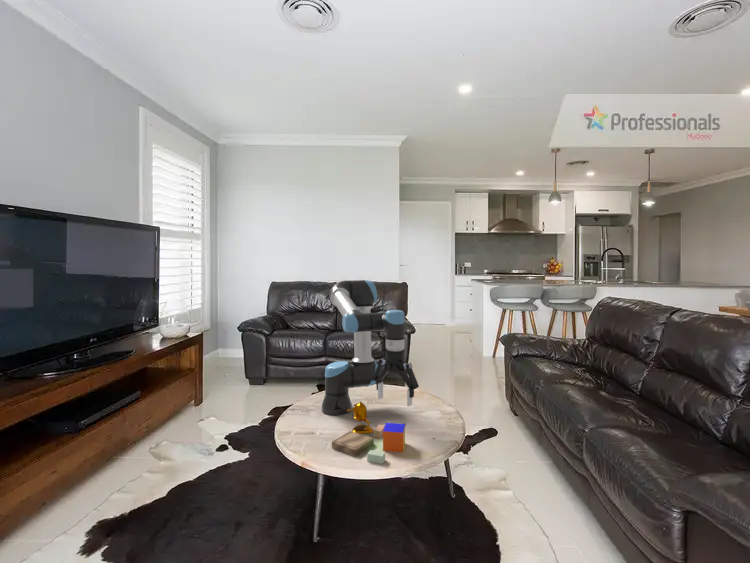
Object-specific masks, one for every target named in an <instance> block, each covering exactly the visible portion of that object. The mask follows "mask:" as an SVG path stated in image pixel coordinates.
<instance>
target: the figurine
mask: <svg viewBox="0 0 750 563" xmlns="http://www.w3.org/2000/svg"><path fill="white" fill-rule="evenodd" d="M353 406H354V407H353ZM353 406H352V409H350V410H351V411H352V413H353V416H352V418H353V419H354V420H355V421H357V422H364V423H366V424H364V423H363V424H362V423H358V424H357V425H355V426H354V427H353V428H352V430H351V431H352V432H355V433H358V434H362V435H367V434H373V433H374V430H375V429H374V428H372V427H371V426H370V424H371V423H370V421H369V419H367V418H368V411H367V410H368V409H367V406H366V405H365V404H364V403H363V402H362V401H359V402H358V403H357V402H356V403H354V405H353ZM350 410H347V412H348V411H350ZM351 411H350V412H351Z"/></svg>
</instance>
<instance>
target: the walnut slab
mask: <svg viewBox="0 0 750 563" xmlns="http://www.w3.org/2000/svg"><path fill="white" fill-rule="evenodd" d="M374 439H375V437H371V436H368V435H366V434H358V433H355V432H352V430H350V431H348V432H346V433H345V434H343V435H341V436H339V437H338V438H336V439H335V440H333V441H331V448H332V449H334V450H336V451H339V452H342V453H345V454H347V455H350V456H353V457H357V456H359V455H360V454H362V453H363V452H366V450H367V449H369V448H371V447H372V446H374V445H375V444H374V442H375V440H374Z"/></svg>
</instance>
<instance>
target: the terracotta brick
mask: <svg viewBox="0 0 750 563" xmlns="http://www.w3.org/2000/svg"><path fill="white" fill-rule="evenodd" d="M384 427H385V425H382V424H378V425H377V426H376V427H375V429H373V430H374V431H373V438H378V439H379V438H383V430H384Z"/></svg>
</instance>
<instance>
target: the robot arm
mask: <svg viewBox="0 0 750 563" xmlns="http://www.w3.org/2000/svg"><path fill="white" fill-rule="evenodd" d="M328 297H329V301H330V302H331V303H332V305H333V306H335V307H336V309H337V310H338V311H339V312H340V315H341V316H342V319H341V320H342V321H341V323H342V324H341V325H342V330H343V331H344V332H345V333H352V334H353V338H354V340H353V342H354V343H353V344H354V345H353V346H354V347H353V348H354V357H353V358H352V359H351V364H350V363H349V362H348V361H345V360H343V361H342V360H340V361H339V360H338V361H334V362H331V363H329V364H328V365H326V367H325V372H324V382H325V383H324V385H325V386H324V392H325V394H324V398H323V401H322V405H321V412H323V413H324V414H327V415H330V416H341V415H345V414H348V413H350V412H351V411H352V410H353V409H352V408H353V403H352V401H351V397H350V395H349V394H350V393H349V389H353V388H361V387H363V388H364V387H370V386H374V385H375V384H376V386H375V388H376V389H375V390H377V400H382V399H383V398H384V382H383V380H384V379H385V377H386V376H387V375H388V373H389V372H390V373H394V374H398V375H399V376H400V377H401V379H402V380H403V382H404V384H405V385H406V386H407V388H408V389H406V396H407V397H406V407H411V406H412V405H413V398H414V397H415V390H416V389H417V388H419V386H420V385H419V383H418V380H417V377H416V375H415V372H414V371H413V366H412V365H413V364H412V363H411V362H408V363H406V362H405V350H404V349H405V326H406V325H405V322H406V319H405V312H404V311H403V310H401V309H400V310H399V309H388V310H385V311H383V310H382V311H378V312H371V309H373V307H374V304H375V303H376V302H377V300H378V292H377V287H376V285H375V283H374V282H373V281H372V280H369V279H368V280H366V279H363V280H362V279H358V280H354V279H353V280H341V281H338V282H336V283H335V284H333V285H332V287H331V288H330V290H329V296H328ZM378 331H379V332H381V331H385V358H383V357H382V358H380V359H379V360H378V363H377V362H376V361H375V358H373V357H372V332H378ZM385 366H386V368H384V367H385ZM383 368H384V370H383ZM382 370H383V372H382ZM381 372H382V373H381ZM350 409H352V410H350ZM347 410H350V411H348V412H347Z"/></svg>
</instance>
